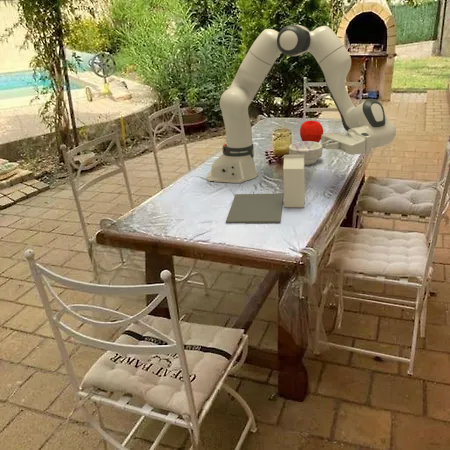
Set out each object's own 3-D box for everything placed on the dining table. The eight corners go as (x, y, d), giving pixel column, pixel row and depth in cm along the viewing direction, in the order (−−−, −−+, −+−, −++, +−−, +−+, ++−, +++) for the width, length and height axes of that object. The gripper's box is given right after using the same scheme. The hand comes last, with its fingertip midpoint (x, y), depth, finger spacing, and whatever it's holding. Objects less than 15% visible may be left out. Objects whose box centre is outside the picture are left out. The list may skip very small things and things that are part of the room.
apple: (328, 146, 244) (328, 120, 238) (311, 151, 238) (311, 124, 233) (311, 142, 253) (311, 116, 247) (295, 147, 247) (294, 121, 242)
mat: (225, 223, 168) (225, 221, 167) (235, 196, 191) (235, 194, 191) (280, 223, 165) (280, 221, 164) (283, 195, 188) (283, 193, 187)
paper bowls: (300, 169, 215) (300, 152, 212) (283, 161, 228) (282, 144, 224) (328, 162, 220) (329, 146, 217) (310, 155, 233) (310, 139, 229)
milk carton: (303, 207, 175) (303, 157, 167) (284, 207, 177) (283, 158, 169) (304, 200, 181) (304, 151, 173) (285, 200, 183) (284, 152, 175)
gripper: (340, 126, 186) (309, 132, 182) (373, 136, 168) (339, 143, 164) (340, 142, 189) (309, 148, 184) (372, 154, 171) (339, 161, 167)
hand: (323, 146), depth 174 cm, fingers closed
